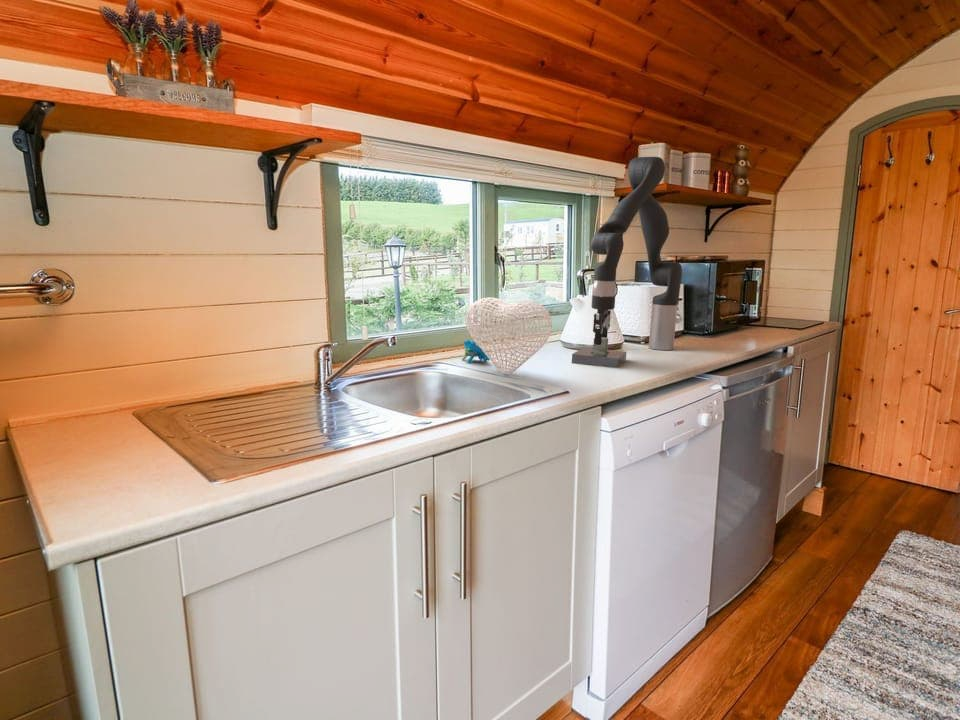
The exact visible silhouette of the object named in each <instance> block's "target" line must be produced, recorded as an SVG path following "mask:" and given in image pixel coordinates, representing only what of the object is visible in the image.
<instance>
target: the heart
mask: <svg viewBox="0 0 960 720" xmlns="http://www.w3.org/2000/svg"><path fill="white" fill-rule="evenodd" d="M484 307H485V308H484ZM533 308H534V309H533ZM524 311H525V312H524ZM482 312H483V313H482ZM486 314H487V315H486ZM465 316H466V317H465V324H466V328H467V332H468V333H469V335H470V337H471V338H472V339H473V340H472V341H474V342H475V344H476V345H478V346H479V347H480V348H481V349H482V351H483V352H484V353H485V354H486V355H487V357H488V358H489V359H490V360H489V361H490V363H492V364H493V366H494V367H495V368H496V369H497V370H498V371H499V372H500V373H502V374H504V375H510V374H512V373H515V372H516V371H517V370H519V368H520V367H522V366H523V365H524V364H525V363H526V362H527V361H528V360H530V358H532V357H533V356H534V355H535V354H536V353H538V352H539V351H541V349H542V348H543V347H544V346H545V344H546V342H547V341H548V340H549V338H550V336H551V333H552V326H553V323H552V317H551V315H550V312H549V311H548V310H547V308H545V307H544V305H542V304H539V303H538V302H534V301H530V300H529V301H528V300H527V301H526V300H525V301H524V300H523V301H519V302H514V303H509V302H508V301H506V300H503V299H500V298H498V297H491V296H490V297H489V296H487V297H483V298H480V299H477V300H476V301H474V302H473V303H472V304H471V305H470V306H469V308H468V310H467V312H466V315H465ZM534 317H536V318H534ZM530 318H531V319H530ZM523 319H524V320H523ZM491 321H492V322H491ZM540 322H541V324H540ZM536 323H537V326H536ZM527 324H528V325H527ZM531 324H533V326H532V325H531ZM482 325H483V327H482ZM520 325H521V326H520ZM486 326H487V327H486ZM510 326H511V327H510ZM516 328H517V329H516ZM536 329H537V332H536ZM540 329H541V330H540ZM532 330H533V332H532ZM481 331H482V333H481ZM528 331H529V332H528ZM511 333H512V334H511ZM515 333H516V335H515ZM539 336H540V337H539ZM531 337H532V338H531ZM513 338H514V340H513ZM494 340H495V341H494ZM502 340H503V341H502ZM515 348H516V349H515ZM486 351H487V352H486ZM517 354H518V355H517Z"/></svg>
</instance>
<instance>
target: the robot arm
mask: <svg viewBox="0 0 960 720" xmlns="http://www.w3.org/2000/svg"><path fill="white" fill-rule="evenodd" d="M665 171H666V164H665V161H664V159H663V158H662V157H659V156H640V157H639V156H638V157H634V158H632V159H631V160H630V161H629V162H628V166H627V175H628V180H629V183H630V187H631V190H632V191H631V192H630V193H628V195H626V196H625V197H623V198H622V199H621V200H620V201H619V202H618V203H617V204H616V206H614V207H615V208H614V209H613V210H612V213H610V216H609V217H608V219H607V221H606V222H604V223H603V224H602V226H600V227H599V228H598V229H597V230H596V232H595V233H594V234H593V235H592V238H591V240H590V249H591V252H593V253H594V254H596V255H600V256H601V255H603V256H604V255H605V259H604V260H602V261H599V262H597V263H595V265H594V273H593V274H594V276H593V284H592V294H591V308H592V309H593V310H597V311H596V313H594V314H593V326H592V327H593V328H592V332H593V333H594V338H595V341H594V340H593V343H594V344H595V345H601V343H602V337H603V338H608V331H609V329H610V327H611V313H612V311H611V310H614V309H615V304H616V293H617V288H616V287H617V285H616V277H617V269H618V265H619V262H620V259H621V256H622V253H623V250H624V244H625V243H624V238H623V236H622V234H625V233H626V232H627V230H628V229H629V227H630V226H631V224H632V221H633V220H634V218H635V216H636V215H637V213H638V215H639V220H640V227H641V231H642V234H643V238H644V244H645V249H646V253H647V262H648V269H649V270H648V272H649V277H650V281H651V283H652V285H654V286H658V287H666V291H664V292H663V293H661V294H657V295H654V296H653V297H652V305H651V313H650V314H651V316H650V325H649V326H650V327H649V329H650V330H649V339H648V340H649V341H648V348H649V349H652V350H657V351H673V350H674V345H675V344H674V343H675V337H676V336H675V335H676V324H677V311H678V304H679V303H678V302H679V296H680V291H681V284H682V277H683V268H682V265H681V263H680V262H675V261H662V259H661V251H662V249H663V248H664V247H663V246H664V245H665V243H666V242H667V239H668V238H669V235H670V226H669V219H668V215H667V212H666V211H665V209H664V208H663V207H662V206H661V204H660V203H659V201H657V200H656V198H655V197H654V196H653V192H654V191H655V190H656V188H657V187H658V186H659V184H660V183H661V182H662V180H663V179H664V175H665Z"/></svg>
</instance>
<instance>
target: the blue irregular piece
mask: <svg viewBox="0 0 960 720" xmlns="http://www.w3.org/2000/svg"><path fill="white" fill-rule="evenodd" d="M463 344H464V345H463V346H464V347H465V349H464V354H465V355H464V356H463V357H462V359H461V361H465V359H467V357H469V358H468V359H467V360H466V362H467V363H468V364H471V363H472V361H473V360H474V358H478V360H480V361H482V360H483V362H489V361H490V359H489V358H488V357H487V355H486V354H485V353H484V352H483V351H482V349H481V348H480V347H479V346H478V345H477V344H476V342H475V341H474V340H472V341H470V340H469V339H467V340H464V341H463ZM486 352H487V351H486Z"/></svg>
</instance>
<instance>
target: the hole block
mask: <svg viewBox="0 0 960 720" xmlns="http://www.w3.org/2000/svg"><path fill="white" fill-rule="evenodd" d="M626 360H627V351H626V350H625V351H624V350H615V349H613V350H612V349H608V350H607V355H602V354H593V347H591V348H590V347H582V348H580V349H578V350H576V351H575V352H573V353H572V354H571V364H579V365H589V366H596V367H604V368H605V367H606V368H615V369H618V368H619V367H621V365H622V364H624V363H625V361H626ZM617 367H618V368H617Z"/></svg>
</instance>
